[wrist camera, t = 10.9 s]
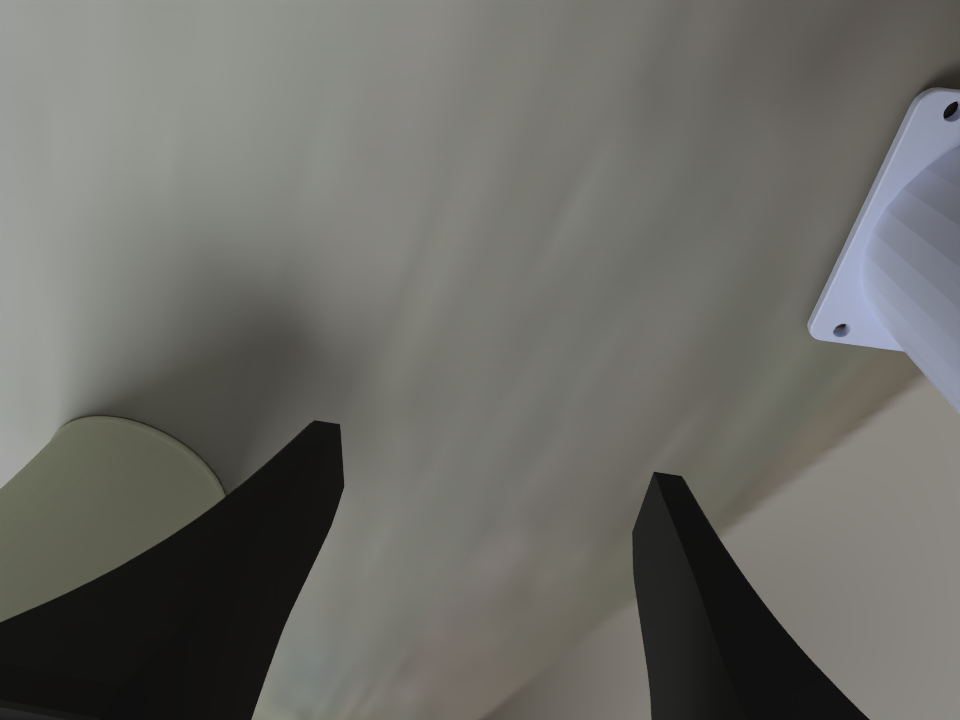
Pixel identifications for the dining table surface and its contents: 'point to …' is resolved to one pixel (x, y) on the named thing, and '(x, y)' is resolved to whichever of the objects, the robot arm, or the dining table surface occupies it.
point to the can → (94, 506)
